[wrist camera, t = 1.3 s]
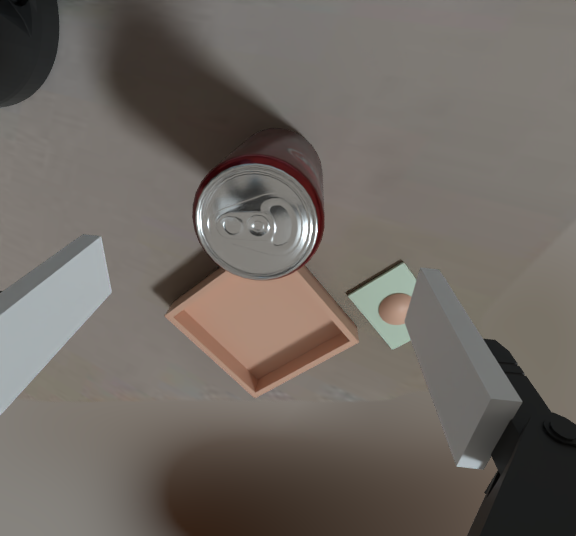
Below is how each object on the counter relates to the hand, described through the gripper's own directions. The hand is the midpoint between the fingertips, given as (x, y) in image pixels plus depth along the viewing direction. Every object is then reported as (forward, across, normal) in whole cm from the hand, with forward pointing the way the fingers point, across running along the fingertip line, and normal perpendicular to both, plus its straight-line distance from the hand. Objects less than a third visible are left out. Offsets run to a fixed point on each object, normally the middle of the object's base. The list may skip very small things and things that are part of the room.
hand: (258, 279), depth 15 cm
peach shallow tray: (+16, -1, -14) cm, 22 cm away
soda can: (+17, -1, 0) cm, 17 cm away
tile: (+16, +12, -12) cm, 23 cm away
